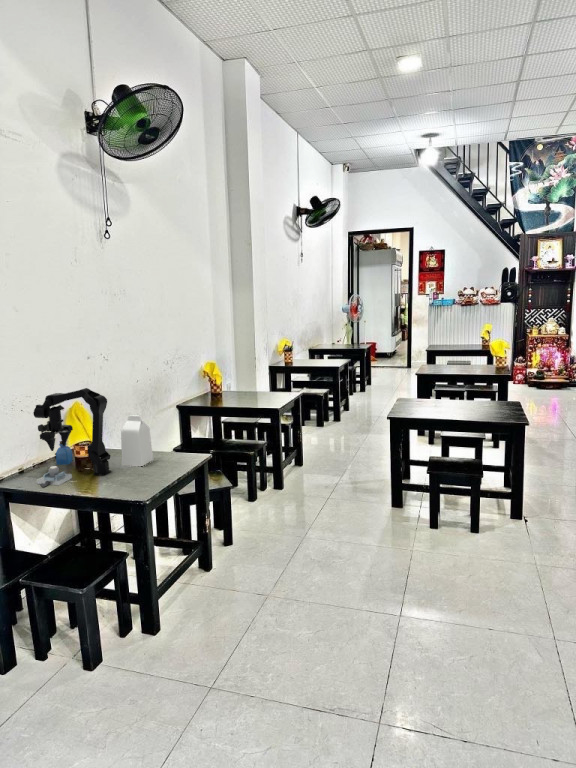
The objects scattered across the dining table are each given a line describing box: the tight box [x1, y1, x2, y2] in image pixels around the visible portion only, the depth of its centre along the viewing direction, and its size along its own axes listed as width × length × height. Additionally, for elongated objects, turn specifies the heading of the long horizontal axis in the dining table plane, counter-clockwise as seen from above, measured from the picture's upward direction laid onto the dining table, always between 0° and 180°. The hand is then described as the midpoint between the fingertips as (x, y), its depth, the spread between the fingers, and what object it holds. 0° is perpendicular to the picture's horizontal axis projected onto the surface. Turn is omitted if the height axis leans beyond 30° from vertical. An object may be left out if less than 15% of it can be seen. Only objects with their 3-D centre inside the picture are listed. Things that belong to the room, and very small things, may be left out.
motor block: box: [36, 471, 73, 489], centre depth 256 cm, size 12×14×4 cm
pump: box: [48, 465, 60, 478], centre depth 258 cm, size 4×4×5 cm
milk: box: [120, 414, 154, 467], centre depth 281 cm, size 12×12×26 cm
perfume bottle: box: [55, 440, 73, 466], centre depth 285 cm, size 6×6×12 cm
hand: (58, 448), depth 272 cm, fingers open, 9 cm apart
